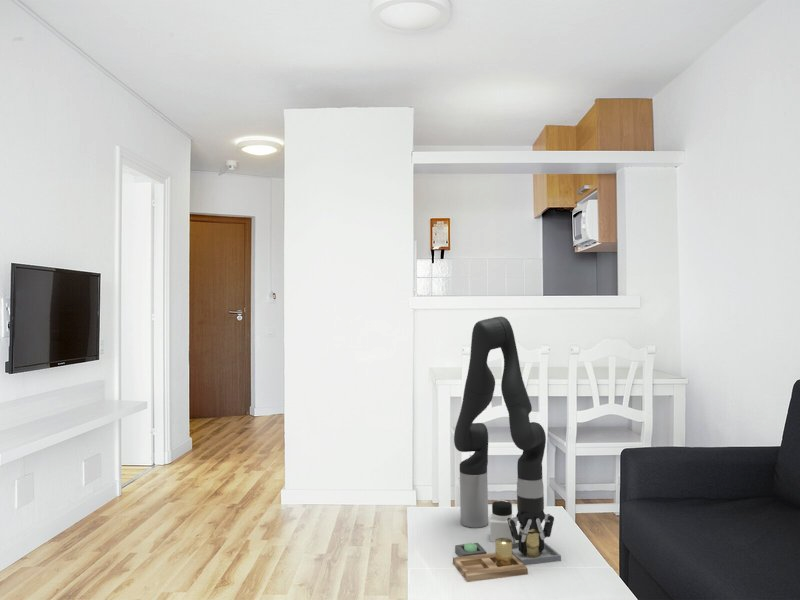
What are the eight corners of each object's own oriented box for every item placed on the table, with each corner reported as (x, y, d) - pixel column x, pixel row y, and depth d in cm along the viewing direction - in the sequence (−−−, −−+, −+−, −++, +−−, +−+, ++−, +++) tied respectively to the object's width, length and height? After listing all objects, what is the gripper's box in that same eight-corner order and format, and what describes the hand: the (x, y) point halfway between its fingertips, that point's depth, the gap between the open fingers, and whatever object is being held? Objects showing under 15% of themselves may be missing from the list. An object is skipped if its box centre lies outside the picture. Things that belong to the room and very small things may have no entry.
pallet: (453, 566, 170) (452, 557, 170) (509, 559, 174) (509, 550, 174) (467, 585, 158) (467, 575, 158) (527, 577, 162) (527, 568, 162)
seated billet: (493, 564, 169) (492, 538, 169) (508, 562, 170) (508, 537, 170) (499, 571, 164) (499, 544, 164) (515, 569, 165) (514, 543, 165)
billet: (520, 553, 176) (520, 529, 177) (535, 551, 178) (534, 527, 178) (527, 559, 172) (527, 535, 172) (542, 558, 173) (541, 533, 173)
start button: (462, 554, 176) (462, 543, 176) (474, 553, 177) (474, 542, 177) (466, 559, 173) (466, 548, 173) (478, 558, 173) (478, 547, 173)
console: (455, 555, 177) (455, 545, 177) (477, 552, 179) (477, 542, 179) (463, 565, 171) (463, 554, 171) (486, 562, 172) (486, 551, 172)
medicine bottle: (514, 546, 184) (513, 506, 184) (490, 544, 185) (489, 505, 185) (514, 537, 190) (513, 499, 191) (491, 536, 192) (490, 498, 192)
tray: (503, 552, 179) (503, 543, 179) (541, 547, 182) (541, 539, 182) (520, 569, 167) (520, 560, 167) (561, 564, 170) (561, 555, 170)
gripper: (512, 499, 170) (513, 560, 169) (559, 494, 173) (560, 555, 173) (501, 491, 177) (503, 550, 177) (547, 487, 180) (548, 545, 180)
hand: (531, 552), depth 175 cm, fingers closed on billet, 4 cm apart
